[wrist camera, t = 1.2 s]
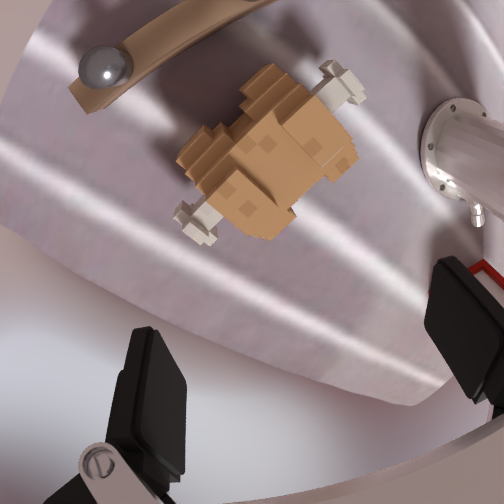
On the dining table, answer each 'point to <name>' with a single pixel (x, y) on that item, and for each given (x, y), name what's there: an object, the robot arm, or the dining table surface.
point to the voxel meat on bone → (268, 153)
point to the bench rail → (152, 48)
